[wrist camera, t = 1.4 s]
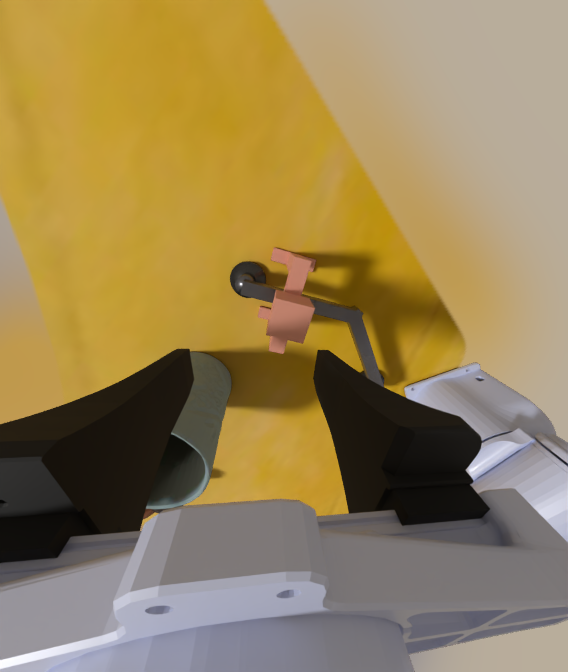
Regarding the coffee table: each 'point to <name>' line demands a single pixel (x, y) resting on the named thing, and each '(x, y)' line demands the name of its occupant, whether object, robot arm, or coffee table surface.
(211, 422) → the green tapered cup
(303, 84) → the coffee table surface
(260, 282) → the wheeled bent frame
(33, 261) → the coffee table surface
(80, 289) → the coffee table surface
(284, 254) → the pink blocky toy figure
